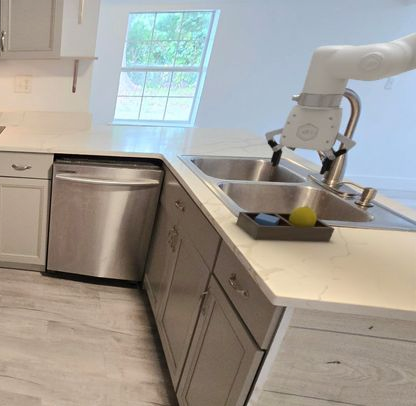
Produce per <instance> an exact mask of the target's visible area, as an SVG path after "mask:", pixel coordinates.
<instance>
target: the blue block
mask: <svg viewBox="0 0 416 406" xmlns="http://www.w3.org/2000/svg"><path fill="white" fill-rule="evenodd" d="M279 220H280V218H278V217H274V216H270V215H267V214H263V213H260V214H259V215H258V216H257V217H255V220H254V221H255V222H256V223H258V224H259V225H260V226H278V223H279Z"/></svg>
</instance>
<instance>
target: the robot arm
mask: <svg viewBox="0 0 416 406" xmlns="http://www.w3.org/2000/svg"><path fill="white" fill-rule="evenodd" d="M413 70H416V31H415V32H413V33H410V34H408V35H404V36H402V37H399V38H397V39H394V40H391V41H388V42H378V43H372V44H371V43H369V44H363V45H353V44H336V45H334V44H333V45H321V46H319V47H316V49H315V50H314V51H313V53H312V55H311V59H310V63H309V66H308V70H307V73H306V76H305V80H304V83H303V87H302V90H301V92H300V93H299V94H293V95H292V97H291V101H293V102H294V101H295V102H296V103H297V104H295V105H293V106H292V108H291V109H290V112H289V113H288V116H287V117H286V120H285V122H284V125H283V127H281V128H278V129H274V130H270V131H268V132H265V135H264V136H265V139H266V141H267V145H268V146H269V147H270V149H271V151H273V152H272V154H271V155H272V156H271V159H270V163H272V164H271V167H272V168H275V167H277V166H279V165H280V161H281V158H282V155H283V148H284V147H288V148H293V149H300V150H301V149H302V150H308V151H317V152H323V153H324V154H325V155H326V157H325V158H324V159H323V163H322V165H321V168H320V171H319V175H321V176H324V175H325V174H326V173H327V172H330V171H331V170H332V166H333V164H334V160H335V159H337V158H339V157H341V156H343V155H345V154H347V153H348V152H349V151H350V150H351V149H353V148H354V147H355V146H356V145H357V141H355V140H353V139H351V138H349V137H348V136H346V135H344V134H342V133H340V128H341V123H342V119H343V107H340V106H341V103H342V102H343V101H342V100H343V97H344V95H345V93H346V92H345V91H346V89H347V86H348V83H349V81H350V80H355V81H362V82H374V81H380V80H383V79H387V78H391V77H394V76H397V75H401V74H404V73H408V72H410V71H413ZM278 135H280V137H279V140H278V141H279V143H278V142H277V141H276V140H275V137H274V136H278ZM337 141H339V142H340V143H342V144H343V145H344V146H343V147H342V148H340V149H338V150H335V149H334V146H335V145H336V142H337Z"/></svg>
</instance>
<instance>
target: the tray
mask: <svg viewBox="0 0 416 406" xmlns="http://www.w3.org/2000/svg"><path fill="white" fill-rule="evenodd" d="M260 213H263V214H267V215H270V216H274V217H278V218H280V220H279V223H278V226H260V225H259V224H258V223H256V222H255V221H254V220H255V217H257V216H258V215H259V214H260ZM291 213H292V212H267V211H266V212H265V211H264V212H262V211H260V212H258V211H239V212H238V216H237V220H236V223H235V224H236V225H237V226H238V227H239V228H240V229H242V230H243V231H244V232H245V233H246V234H247V235H249V236H250V237H251V238H252V239H253V240H255V241H257V240H258V241H285V242H286V241H287V242H288V241H289V242H290V241H291V242H320V243H321V242H323V243H328V242H329V243H330V241H331V239H332V236H333V233H334V231H335V228H334V227H332V226H331V225H329V224H328V223H326V222H324V221H322V220H321V219H319V218H317V217H316V223H315V225H314V226H313V227H299V226H294V225H293V224H291V223H290V222H289V217H290V215H291Z"/></svg>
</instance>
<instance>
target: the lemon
mask: <svg viewBox="0 0 416 406" xmlns="http://www.w3.org/2000/svg"><path fill="white" fill-rule="evenodd" d="M290 213H291V215H290V217H289V222H290V223H291V224H293V225H294V226H299V227H313V226H314V225H315V223H316V218H317V212H316V211H315V210H314V209H312V208H311V207H310V206H308V205H305V206H300V207H297V208H295V209H294V210H292V212H290Z"/></svg>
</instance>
